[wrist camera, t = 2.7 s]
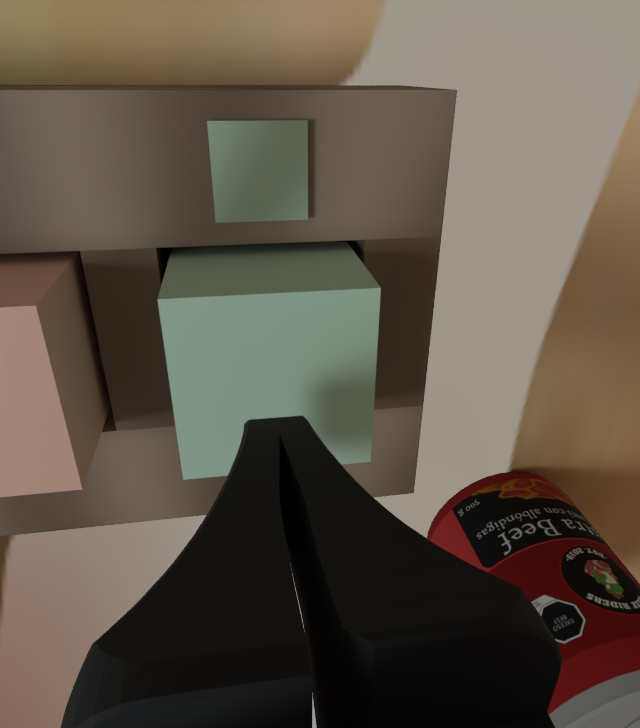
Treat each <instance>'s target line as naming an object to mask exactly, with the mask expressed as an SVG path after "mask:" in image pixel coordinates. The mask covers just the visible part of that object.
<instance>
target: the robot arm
mask: <svg viewBox="0 0 640 728" xmlns="http://www.w3.org/2000/svg"><path fill="white" fill-rule="evenodd" d="M290 564H291V565H290ZM291 569H292V570H291ZM292 573H293V576H292ZM293 578H294V581H293ZM294 582H295V586H294ZM295 587H296V591H297V596H298V600H299V605H300V609H301V613H302V619H303V623H302V619H301V614H300V610H299V605H298V600H297V596H296V591H295ZM303 624H304V628H303ZM304 630H305V632H304ZM562 660H563V658H562V655H561V651H560V648H559V645H558V643H557V642H556V640H555V638H554V637H553V635H552V633H551V631H550V630H549V628H548V626H547V625H546V623H545V621H544V620H543V618H542V617H541V615H540V614H539V612H538V611H537V609H536V608H535V607H534V606H533V604H532V603H531V602H530V600H529V599H528V598H527V596H526V595H525V594H524V592H523V591H522V589H521V588H520V587H518V586H516V585H514V584H512V583H509V582H507V581H505V580H503V579H501V578H499V577H497V576H494V575H492V574H490V573H488V572H486V571H484V570H481V569H479V568H477V567H475V566H473V565H471V564H469V563H467V562H466V561H464V560H462V559H460V558H458V557H457V556H455V555H453V554H451V553H449V552H448V551H446V550H444V549H443V548H441V547H439V546H438V545H436V544H434V543H433V542H431V541H430V540H428V539H427V538H425V537H423V536H422V535H421V534H419V533H417V532H416V531H415V530H413V529H412V528H410V527H409V526H407V525H406V524H404V523H403V522H402V521H401V520H399V519H398V518H397V517H395V516H394V515H393V514H392V513H391V512H389V511H388V510H387V509H385V508H384V507H383V506H382V505H381V504H380V503H379V502H378V501H376V500H375V499H374V498H373V497H372V496H371V495H370V494H369V493H368V492H367V491H366V490H365V489H364V488H363V487H362V486H361V485H360V484H359V483H358V482H357V481H356V480H355V479H354V478H353V477H352V476H351V475H350V474H349V473H348V472H347V471H346V470H345V468H344V467H343V466H342V465H341V464H340V463H339V461H338V460H337V459H336V458H335V457H334V456H333V454H332V453H331V452H330V451H329V450H328V448H327V447H326V446H325V444H324V443H323V442H322V440H321V439H320V438H319V436H318V435H317V434H316V432H315V431H314V429H313V428H312V426H311V425H310V423H309V421H308V420H307V419H306V418H305V417H304V416H290V417H277V418H264V419H251V420H248V421H247V422H246V423H245V424H244V431H243V436H242V440H241V443H240V446H239V449H238V452H237V455H236V458H235V460H234V462H233V465H232V467H231V470H230V472H229V474H228V477H227V479H226V481H225V483H224V485H223V487H222V489H221V491H220V492H219V494H218V496H217V498H216V500H215V502H214V504H213V506H212V507H211V509H210V511H209V513H208V514H207V516H206V517H205V519H204V521H203V522H202V524H201V525H200V527H199V528H198V530H197V531H196V533H195V534H194V536H193V537H192V539H191V540H190V541H189V543H188V544H187V545H186V547H185V548H184V549H183V551H182V552H181V554H180V555H179V556H178V557H177V559H176V560H175V561H174V562H173V564H172V565H171V566H170V567H169V568H168V570H167V571H166V572H165V573H164V574H163V575H162V576H161V577H160V579H159V580H158V581H157V582H156V583H155V584H154V585H153V586H152V587H151V588H150V590H149V591H148V592H147V593H146V594H145V595H144V596H143V597H142V598H141V600H139V601H138V602H137V604H135V605H134V607H132V608H131V610H129V611H128V612H127V613H126V614H125V615H124V616H123V617H122V618H121V619H120V620H118V621H117V622H116V623H115V624H114V625H113V626H112V627H111V628H110V629H109V630H108V631H107V632H106V633H104V634H103V635H102V636H101V637H100V638H99V639H98V640H97V641H95V642H94V643H93V644H92V646H91V648H90V650H89V652H88V654H87V657H86V659H85V661H84V663H83V665H82V668H81V670H80V672H79V674H78V677H77V679H76V682H75V685H74V687H73V690H72V692H71V695H70V698H69V701H68V703H67V706H66V710H65V713H64V717H63V721H62V725H61V728H312V692H313V700H314V709H315V717H316V725H317V728H555V726H554V724H553V722H552V720H551V718H550V716H549V714H548V712H547V711H548V708H549V705H550V702H551V699H552V696H553V693H554V690H555V687H556V685H557V682H558V679H559V676H560V673H561V666H562Z"/></svg>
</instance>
